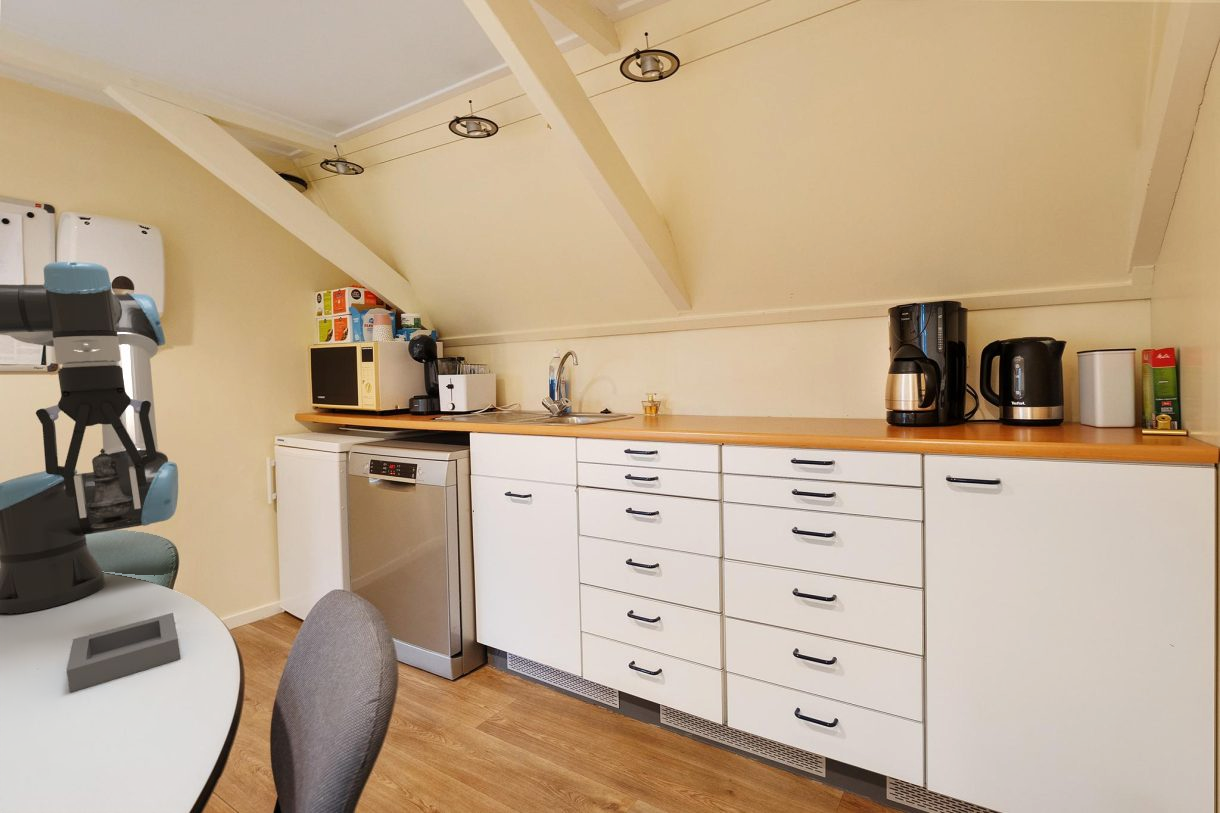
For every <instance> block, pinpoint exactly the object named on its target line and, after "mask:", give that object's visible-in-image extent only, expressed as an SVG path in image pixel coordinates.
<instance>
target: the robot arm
mask: <svg viewBox="0 0 1220 813" xmlns="http://www.w3.org/2000/svg"><path fill="white" fill-rule="evenodd" d="M43 280H44V283H43V284H0V336H9V337H11V338H13V339H14V340H17V341H19V342H22V343H25V344H33V345H40V346H46V347H53V348H54V355H55V362H56V364H58V365H62V366H61V367H60V368H59V369H58V370H57V376H58V381H59V387H60V388H59V389H60V399H59V401H58V403H57V404H56V405H53V406H49V407H46V408H40V409H37V410H36V412H35V415H36V417H37V419H38V420H39V422H40V424H41V425H42V437H43V450H44V451H43V453H44V463H45V470H43V471H39V472H35V473H31V474H27V475H22V476H18V477H15V478H11V479H9V480H5V481H2V482H0V613H16V614H23V612H24V613H30V611H31V612H36V611H41V610H45V609H48V608H54V607H58V606H61V605H63V604H64V605H65V604H68V603H71V602H74V601H76V600H79V599H82V598H85V597H86V596H89V595H92V594H94V593H96V592H97V591H99V590H101V589H102V588H103V587H104V586H105V584H106V582H105V576H104V572H103V570H102V568H101V567H100V565H99V563H98V562H97V561H96V559H95V557H94V556H93V554H92V553H91V551H90V550H89V548H88V544H87V538H86V536H87V535H93V534H98V533H104V532H110V531H116V530H123V529H129V528H134V527H139V526H142V527H145V526H149V525H151V524H157V523H160V522H166V521H168V520H170V519H171V518H172V517H173V516H174V515H175V513H176V510H177V506H178V498H179V497H178V496H179V469H178V465H177V463H175V462H173V461H169V458H168V456H167V454H166V453H164V452H163V451H160V450H159V448H158V446H159V445H158V436H157V424H156V423H157V422H156V416H155V415H156V412H155V411H156V410H155V402H154V401H155V399H154V390H153V380H152V366H151V359H152V358H153V357H155V356H156V355H157V353H158V351H159V350H158V349H159V347H161V346H164V345H166V338H165V334H164V330H163V327H162V322H161V319H160V315H159V311H158V308H157V304H156V302H155V300H154V298H153V297H152V296H150V295H148V294H141V293H139V294H138V293H131V292H127V293H124V294H123V293H121V294H120V293H113V291H112V287H113V286H112V284H113V283H112V282H111V279H110V274H109V270H108V268H106V267H105V266H103V265H102V264H97V263H92V262H81V261H79V262H78V261H57V262H56V261H55V262H50V263H47V264H46V265H45V266H44V267H43ZM60 412H63V413H64V414H65V415H66V416H68V417H69V418H70V419H71V420H73V421H74V423H75V424H74V426H73V431H72V436H71V439H70V444H69V448H68V451H67V456H66V458H65V462H64V465H63V466H62V465H59V462H58V461H59V460H58V459H59V458H58V446H57V432H56V430H57V428H56V423H55V421H57V420H58V418H59V413H60ZM96 425H101V430H102V431H101V432H102V433H101V434H102V449H104V451H105V453H107V454H110V455H113V456H114V457H115V459H116V466H117V473H118V474H119V475H121V477H120V478H119V482H120V488H121V491H122V493H123V494H124V495H126V496H132V497H133V499H132V500H131V502H132V505H131V508H130V510H129V511H128V512H127V513H125V514H123V515H121V516H129V517H132V518H134V520H133V521H131V522H129V523H125V524H122V525H117V526H112V527H106V528H91V525H93V524H94V523H95V522H97V521H100V520H103V519H102V518H96V517H94V516H92V515H91V514H90V512H89V509H88V507H85V505H86V504H87V503H90V502H91V501H93V500H94V499H95V494H96V490H95V483H94V481H92V480H91V479H93V478H94V471H92V472H85V473H84V472H82V473H78V470H77V469H76V468H77V463H78V459H79V456H80V453H81V452H80V451H81V449H82V444H83V439H84V437H85V431H86V429H87V427H92V426H96Z"/></svg>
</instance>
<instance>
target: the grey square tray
mask: <svg viewBox="0 0 1220 813" xmlns="http://www.w3.org/2000/svg"><path fill="white" fill-rule="evenodd" d="M69 652H70V653H69V655H68V656H69V657H68V662H67V665H66V677H67V682H68V689H69V693H73V692H76V691H80V690H83V689H86V688H90V687H93V686H97V685H99V684H103V683H106V682H110V681H114V680H117V679H119V678H122V677H126V676H129V675H133V674H135V673H139V672H143V671H145V670H149V669H151V668H156V667H158V666H161V665H165V664H167V663H171V662H174V661H178V660H181V651H180V644H179V638H178V631H177V627H176V621H175V616H174V612H170V613H167V614H162V615H159V616H156V617H152V618H147V619H144V620H140V621H136V622H132V623H129V624H125V625H121V626H118V627H114V628H110V629H107V630H106V629H105V630H103V631H99V632H94V633H92V634H87V635H84V636H80V637H76V638H72V643H71V646H70V651H69Z"/></svg>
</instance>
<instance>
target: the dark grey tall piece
mask: <svg viewBox="0 0 1220 813" xmlns="http://www.w3.org/2000/svg"><path fill="white" fill-rule="evenodd" d="M91 463H92V470H93V471H92V472H94V478H93V479H91V480H92V481H94V483H95V490H96V494H95V499H94V500H93V501H91V502H90V503H87V504H86V505H85V507H88V509H89V512H90V514H91V515H92V516H94V517H96V518H102V519H103V520H100V521H97V522H95V523H94V524H93V525H91V528H106V527H112V526H117V525H122V524H125V523H129V522H131V521H133V520H134V518H132V517H129V516H121V515H123V514H125V513H127V512H128V511H129V510H130V508H131V505H132V502H131V500H132V499H133V497H132V496H126V495H124V494H123V493H122V491H121V488H120V482H119V478H120V477H121V475H119V474H118V473H117V466H116V459H115V457H114V456H113V455H110V454H107V453H105V451H104V449H103V448H101V449H100V451H99V455H95V457H93V458H92V460H91Z"/></svg>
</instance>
